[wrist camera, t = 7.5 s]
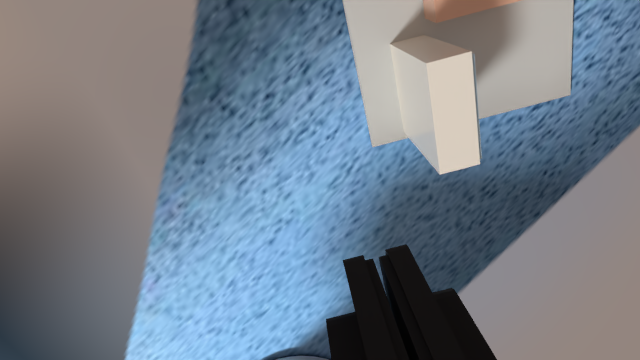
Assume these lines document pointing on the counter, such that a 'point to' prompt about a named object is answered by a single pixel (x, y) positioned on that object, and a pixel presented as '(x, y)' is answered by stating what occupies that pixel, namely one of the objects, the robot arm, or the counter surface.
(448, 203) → the counter surface
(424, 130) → the cream block
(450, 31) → the grey mat
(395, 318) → the robot arm
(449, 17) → the salmon pink block
